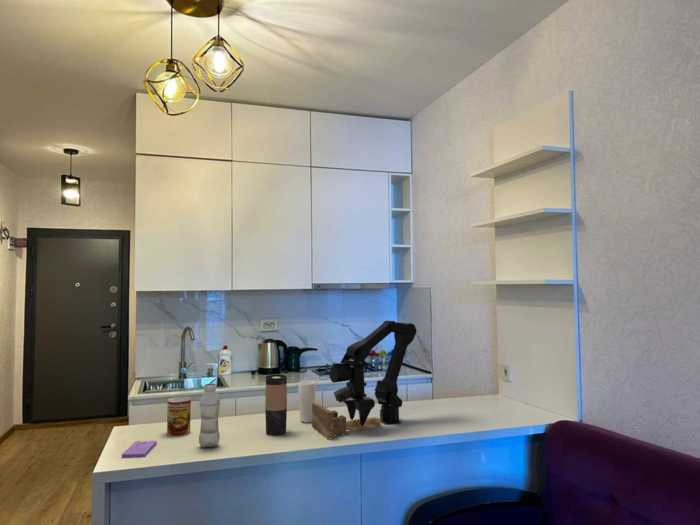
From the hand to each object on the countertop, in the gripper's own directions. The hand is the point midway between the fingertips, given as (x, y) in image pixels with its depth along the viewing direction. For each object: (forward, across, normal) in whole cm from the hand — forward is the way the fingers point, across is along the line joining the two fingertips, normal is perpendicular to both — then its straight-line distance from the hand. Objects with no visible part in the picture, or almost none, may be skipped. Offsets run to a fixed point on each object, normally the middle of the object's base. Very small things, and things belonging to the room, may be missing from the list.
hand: (356, 422), depth 182 cm
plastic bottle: (+2, -1, -53) cm, 53 cm away
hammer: (+2, 0, 0) cm, 2 cm away
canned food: (+2, -21, -61) cm, 64 cm away
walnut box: (+2, 0, -10) cm, 10 cm away
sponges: (+3, -5, -74) cm, 74 cm away
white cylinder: (+2, -17, -14) cm, 22 cm away
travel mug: (+2, -7, -29) cm, 30 cm away
